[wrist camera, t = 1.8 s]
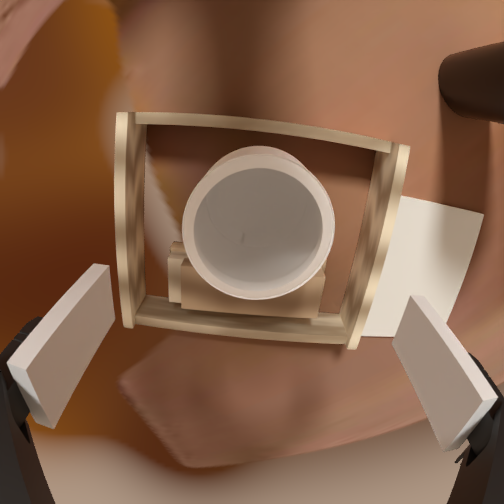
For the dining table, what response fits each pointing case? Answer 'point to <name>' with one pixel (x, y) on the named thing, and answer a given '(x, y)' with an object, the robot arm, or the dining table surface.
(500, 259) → the dining table surface
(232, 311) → the offcut stack
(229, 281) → the jar
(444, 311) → the mat
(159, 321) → the rack
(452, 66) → the water bottle
